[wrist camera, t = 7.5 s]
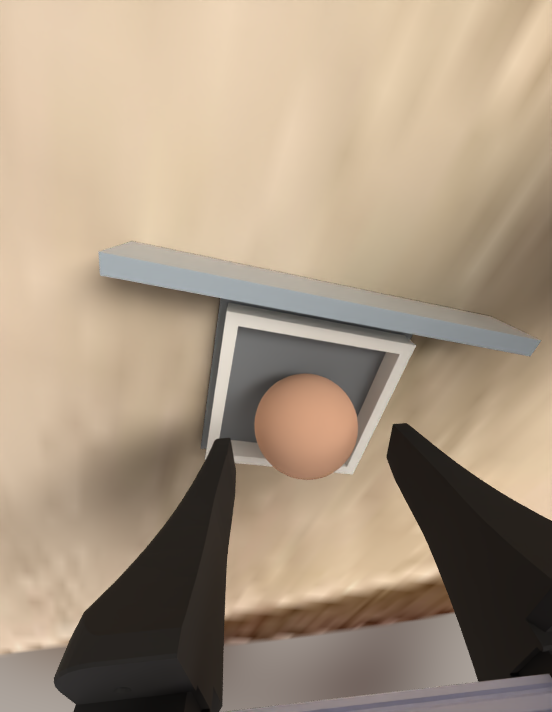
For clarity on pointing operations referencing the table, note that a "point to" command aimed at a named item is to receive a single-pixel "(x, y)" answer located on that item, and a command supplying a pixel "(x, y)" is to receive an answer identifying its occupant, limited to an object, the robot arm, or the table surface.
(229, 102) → the table surface
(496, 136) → the table surface
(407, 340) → the white square tray
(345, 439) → the ball
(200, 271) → the low wall
